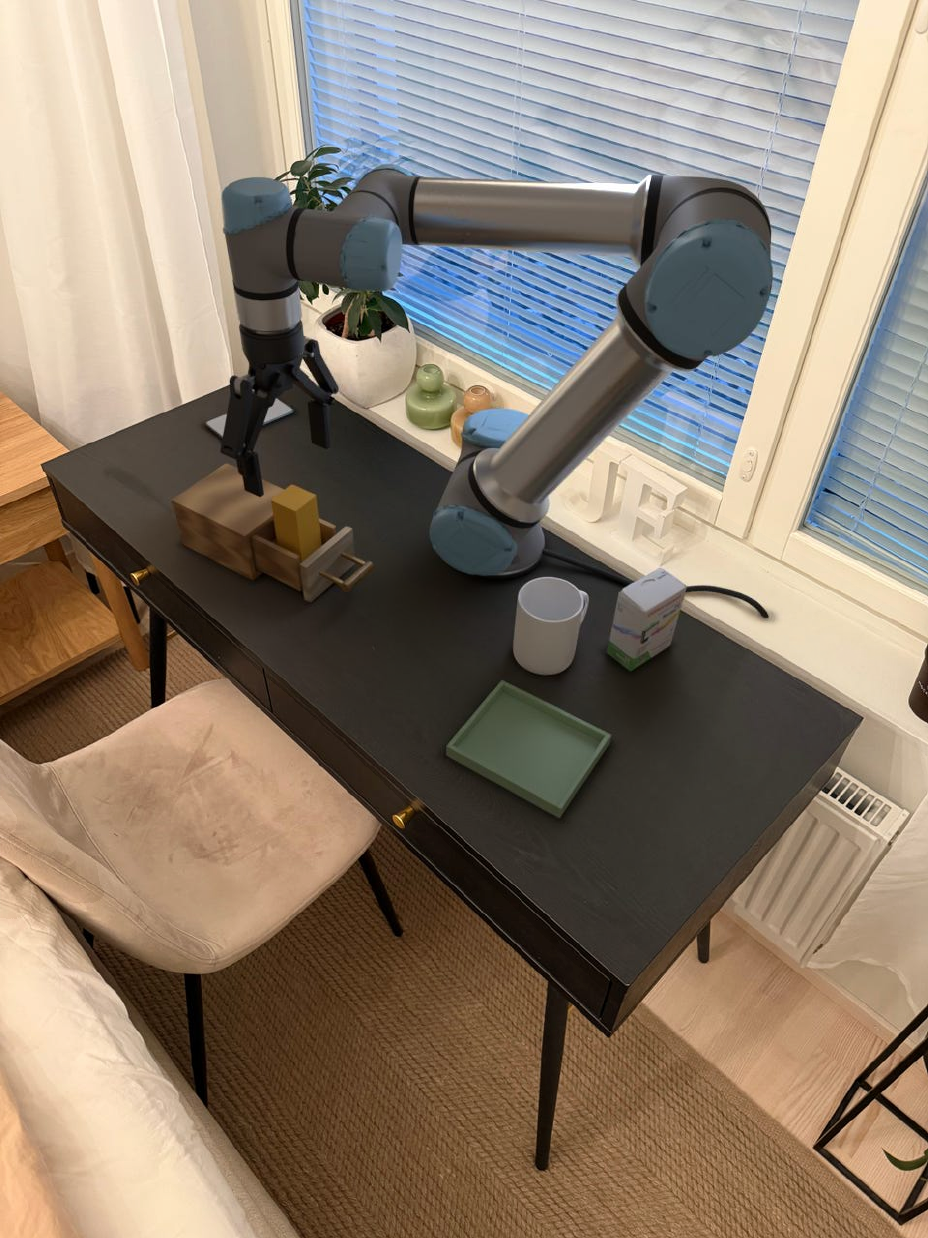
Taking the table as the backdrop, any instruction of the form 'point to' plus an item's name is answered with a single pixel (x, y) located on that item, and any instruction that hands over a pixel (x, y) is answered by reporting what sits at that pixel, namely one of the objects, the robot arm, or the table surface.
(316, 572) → the drawer
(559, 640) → the mug
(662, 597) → the ink box
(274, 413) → the smartphone
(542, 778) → the tray
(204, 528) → the cabinet
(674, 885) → the table surface
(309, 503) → the block
